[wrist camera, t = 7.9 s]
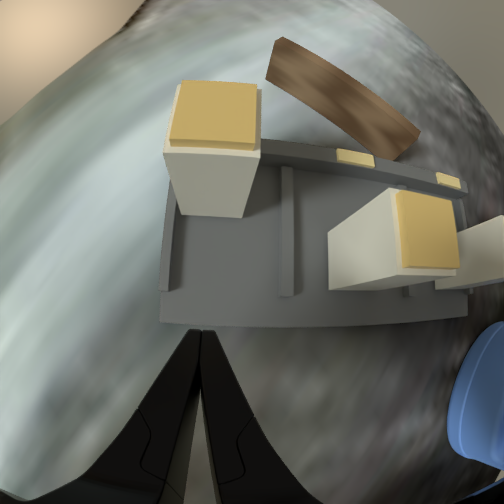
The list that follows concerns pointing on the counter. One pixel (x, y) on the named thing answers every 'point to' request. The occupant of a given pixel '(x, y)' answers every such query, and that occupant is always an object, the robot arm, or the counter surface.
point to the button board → (295, 246)
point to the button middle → (394, 243)
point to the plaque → (340, 99)
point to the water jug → (480, 401)
